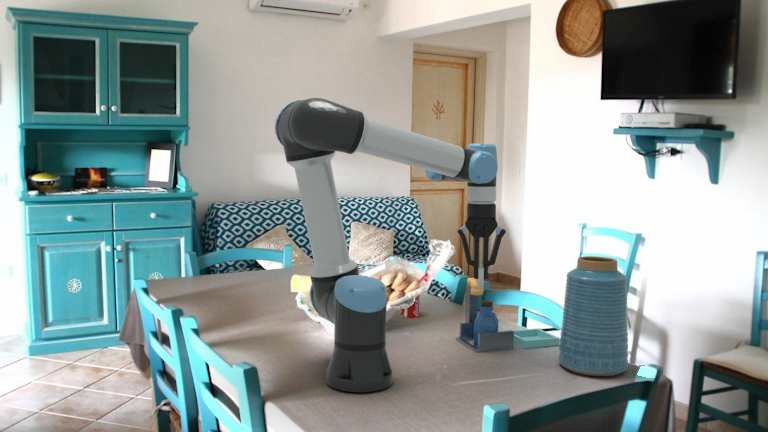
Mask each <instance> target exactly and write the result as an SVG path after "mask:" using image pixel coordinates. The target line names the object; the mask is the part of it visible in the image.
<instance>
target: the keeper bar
mask: <svg viewBox="0 0 768 432" xmlns="http://www.w3.org/2000/svg"><path fill="white" fill-rule="evenodd" d="M466 283H467V284H466V285H470V286H471V291H470V294H471V295H477V296H478V297H479V296H483V295H484V289H482V288H479V287H478V285H477V279H474V277H468V278H467V279H466Z"/></svg>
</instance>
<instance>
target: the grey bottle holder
mask: <svg viewBox="0 0 768 432" xmlns="http://www.w3.org/2000/svg"><path fill="white" fill-rule="evenodd" d="M470 291H471V286H470V285H468V284H465V307H464V308H465V312H464V313H465V314H464V317H465V318H464V322H459V330H458V331H459V335H458V336H457V337H455V341H456V342H458V343H459V344H461V345H462V346H464V347H465V348H467V349H470V350H471V351H473V352H474V353H484V352H493V351H494V352H495V351H503V350H504V351H505V350H506V351H507V350H513V349H514V344H513V343H514V331H513V329H511V330H510V329H509V330H498V331H495V332H482V333H478V347H475V346H474V345H473V344H472V343H470V342H468V341H470V340H469V339H474V323H475V320H476V318H477V316H478V309H479V307H478V306H479V303H478V301H479V300H478V299H479V296H477V295H471V294H470Z"/></svg>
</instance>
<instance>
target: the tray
mask: <svg viewBox="0 0 768 432" xmlns="http://www.w3.org/2000/svg"><path fill="white" fill-rule="evenodd" d="M512 330H513V329H512ZM513 331H514V344H515V345H517V346H518V347H520V348H522V349H523V350H530V349H532V350H533V349H542V347H543V348H550V346H552V347H559V346H560V338H561V337H558V336H557V335H554V334H551V333H550V332H547V331H545V330H543V329H541V328H527V329H526V328H525V329H515V330H513ZM514 344H513V345H514ZM558 345H559V346H558Z"/></svg>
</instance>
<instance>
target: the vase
mask: <svg viewBox="0 0 768 432" xmlns="http://www.w3.org/2000/svg"><path fill="white" fill-rule="evenodd" d="M576 264H577V265H576V267H575V268H573V269H571V270H570V271H568V272H567V273H566V283H565V291H564V292H565V294H564V300H563V302H564V304H563V312H562V320H561V321H562V322H561V327H560V329H561V332H560V337H559V338H560V343H559V346H558V347H559V348H558V350H559V353H558V356H557V357H558V359H557V360H558V363H559V364H560V365H561V366H562V367H564V369H565V370H568V371H570V372H572V373H576V374H580V375H584V376H592V377H613V376H614V377H615V376H616V375H617V376H618V375H620V374H622V373H624V372H626V371H627V370H628V369H629V360H628V357H629V351H628V350H629V344H628V342H629V337H628V335H629V332H628V277H627V275H625V274H623V273H622V272H621V271H620V270H618V260H617V259H616V258H613V257H607V256H592V255H591V256H589V255H588V256H587V255H586V256H579V257H578V258H577V263H576Z"/></svg>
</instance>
